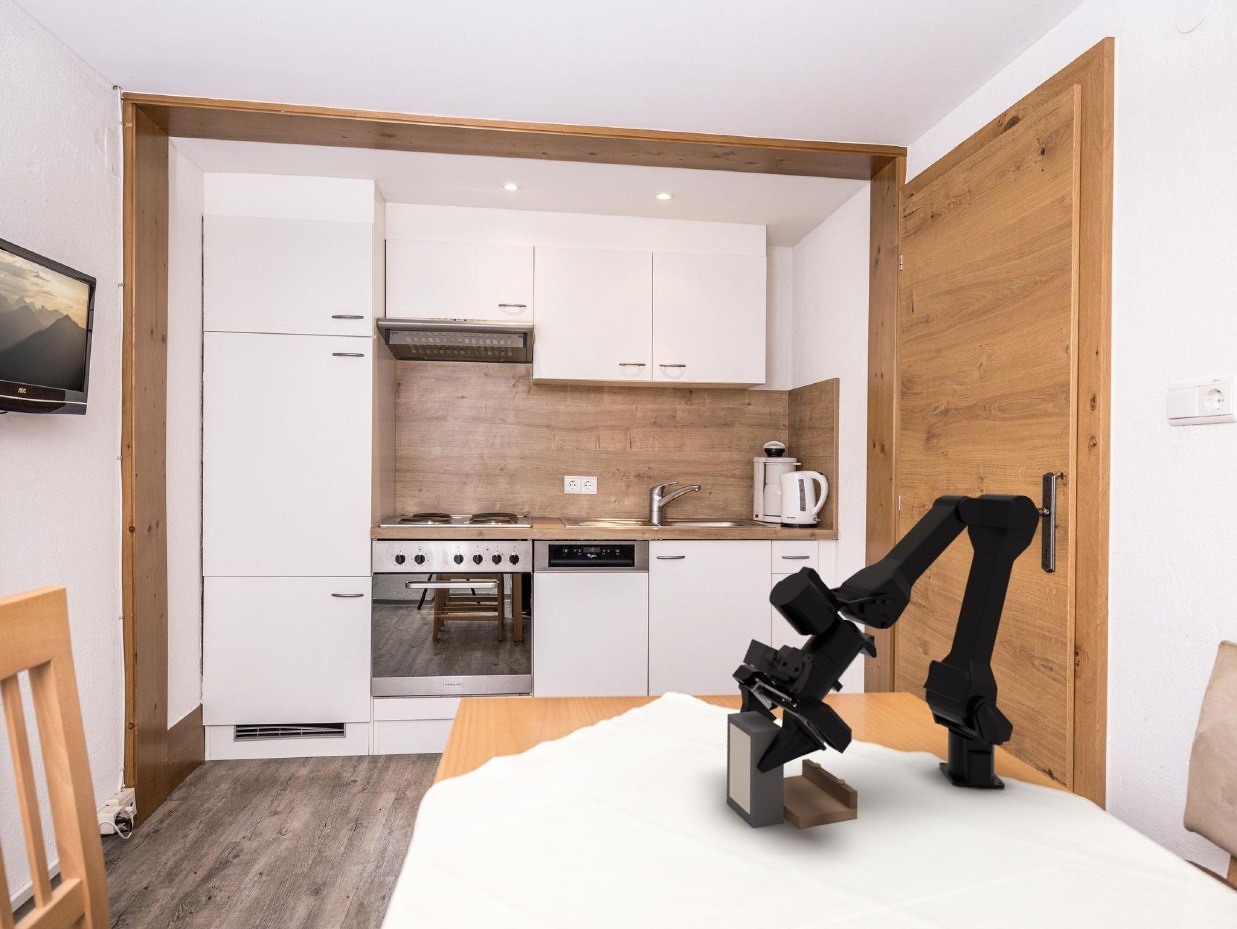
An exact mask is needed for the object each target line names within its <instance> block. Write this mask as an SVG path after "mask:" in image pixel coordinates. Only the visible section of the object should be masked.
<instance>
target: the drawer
mask: <svg viewBox="0 0 1237 929" xmlns="http://www.w3.org/2000/svg"><path fill="white" fill-rule="evenodd" d="M801 761H802V762H801V774H799V775H794V776H793V775H792V776H787V777H786V776H784V805H783V817H785V818H786V819H788V820H789V821H790V822H791V823H792V824H793V825H795V826H796V827H797V828H798V829H805V828H810V827H816V826H817V827H818V826H822V825H828V824H833V823H838V822H844V821H850V820H855V819H858V790H856V789H855V788H853V787H852V786H850V785H849V784H848V783H846V780H845V779H843V778H838V777H837V776H835V775H834V774H832V773H831V772H829V771H828V770H826V769H825V768H823V767H822V765H821V763H818V762H814V761H813V760H811V759H809V758H806V759H805V758H804V759H801Z"/></svg>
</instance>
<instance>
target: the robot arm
mask: <svg viewBox="0 0 1237 929" xmlns="http://www.w3.org/2000/svg"><path fill="white" fill-rule="evenodd" d="M1039 522H1040V510H1039V509H1038V508H1037V507H1036V505H1035V502H1034V500H1033V499H1032V498H1031V497H1028V496H1027V495H1022V494H1001V493H984V494H980V495H979V496H977V497H971V496H969V495H960V494H958V495H957V494H943V495H941V496H938V497H937V498H935V500H934V501H933V503H932V507H930V509H929V510H928V511H927V512H926V513H925V514H924V515H923V516H922V517H921V518H920V519H919V520H918V521H917V522H916V524H914V526H913V527H912V528H910V530H908V532H906V534H905V535H904V536H903V537H902V538H901V539H900V540H899V541H898V543H896V544H895V545H894V547H892V549H890V551H889V552H888V553H887V554H885V556H884V557H883V558H882V559H880V560H879V561H878V562H875V563H873V564H870V565H868V566H866V567H864V568H861V569H860V570H858V571H856V572H855V573H854V574H852V575H851V576H850V577H848V578H847V579H846V580H844V581H843V582H842V583H841V585H840V586H838V587H833V588H829V586H828V585H827V584H826V583H825V582H824V581H823V580H822V578H821V576H820V574H819V573H818V572H817V570H815V568H813V567H808V566H802V567H801V569H800V570H798V572H794V573H791V574H789V575H787V576H786V577H784V578H782V580H779V581H778V582H777V583H776V584H775V585H774V586H773V588H771V591H770V593H769V597H768V599H769V600H768V601H769V603H770V604H771V605H772V606H773V608H774V609H775V610H776V611H777V612H778V613H779V614H780V615H781V616H782V618H783V619H785V621H786V622H787V623H788V625H790V627H792V628H793V630H794V631H795V632H796V633H797V634H798V635H800V636H804V637H805V636H806V637H807V636H810V637H809V638H808V639H807V640H806V642H805V643H804V644H803V645H802V647H801V648H798V647H796V646H789V645H786V644H783V645H782V646H781V647H780V648H779V649H777V648H774V647H772V646H769V645H767V644H765V643H763V642H761V641H759V640H757V639H754V638H751V641H750V643H749V645H748V648H747V650H746V653H745V655H744V658H743V661H742V663H744V664H740V665H739V666H738V667H737V668H736V670H735V671H734V672H733V673H732V678H733V679H734V680H735V681H736V682H737V683H738V686H737V687H738V689H739V691H740V693H741V694H740V695H741V707H740V710H739V713H742V712H750V711H757V712H758V713H760V714H762V715H763V716H765V717H766V718H768V719H769V720H771V721H773V722H774V723H775V722H776V720H777V719H778V717H777V716H776V715H775V714H774V713H773V712H772V711H773V710H776V709H777V708H778V707H779V708H781V709H782V718H781V721H782V722H781V729H780V731H779V732H778V734H777V735H776V736H775V738H774V739H773V741H772V742H771V744H770V745H769V747H768V748H767V750H766V751H765V753H764V754H763V756H762V757H761V759H760V761H759V763H758V765H757V769H758V770H759V771H760V772H762V773H766V772H768V771H770V770H772V769H774V768H776V767H779V766H781V765H783V764H784V765H786V764H787V763H790V762H791V761H794V760H796V759H798V758H801V757H804V756H807V755H809V754H812V753H814V752H818V751H823V752H825V751H827V750H828V747H830V748H832V749H833V750H835V751H837V752H838V753H840V754H842V755H843V753H845V751H846V750H847V749H848V747H849V745H850V744H851V743H852V742H853V729H852V728H851V727H850V726H849V725H848V723H846V722H845V720H844V719H843V718H842V717H841V716H840V715H839V714H838V712H836V710H834V708H833V707H832V706H831V705H830V704H828V703H826V702H824V699H825V698H826V697H827V696H828V694H829V693H830V691H831V690H832V691H833V692H834V691H835V692H836V693H840V692H841V690H842V689H843V687H844V685H843V684H842V683H841V681H839V680H840V679H841V678H842V676H843V675H844V673H846V671H847V670H848V668H849V667H850V666H851V665H852V664H853V662H854V661H855V659H856V658H857V657H858V655H859V654H862V655H864V656H867V657H870V658H872V659H876V658H877V657H878V652H877V648H876V642H875V638H876V637H875V635H873V634H871V633H870V634H869V633H867V632H864V631H862V630H861V629H860V628H859V627H858V626H857V624H861V625H864V626H867V627H870V628H873V629H876V630H888V629H890V628H892V627H893V626H894V625H895V624H896V623H897V622H898V621H899V619H900V617H901V616H902V615H903V613H904V611H905V610H906V608H907V607H908V606H909V604H910V601H911V595H912V589H913V587H914V585H915V584H916V582H918V580H919V579H920V578H921V577H922V576H923V575H924V573H925V572H926V571H927V570H928V569H929V568H930V567H931V566H932V565H933V564H934V563H935V561H936V560H938V558H940V556H941V555H942V554H943V552H945V551H946V549H948V547H949V546H950V545H952V543H953V542H954V541H955V540H956V539H957V538H958V537H959V536H960V534H961V533H962V532H964V531H965V529H966V528H967V529H966V530H967V531H966V532H967V536H968V538H969V541H970V544H971V547H972V550H973V556H972V561H971V564H970V568H969V573H968V578H967V581H966V584H965V585H966V586H965V590H964V592H963V593H964V594H963V598H962V601H961V607H960V611H959V614H958V619H957V623H956V627H955V632H954V635H953V639H952V645H951V648H950V651H949V653H948V654H947V655H946V656H945V657H944V658H943V659H942V660H940V661H938V660H935V659H932V660H931V661H930V663H929V665H928V674H927V677H926V681H925V683H924V684H923V686H922V688H924V690H925V689H926V690H925V696H924V698H925V702H926V703H927V705H928V707H929V710H931V714H932V718H933V720H934V723H935V724H937V725H940V726H942V727H944V728H947V762H941V761H940V762H938V763H939V764H938V766H940V767H939V768H940V769H941V771H942V772H943V773H944V775H945V776H946V775H947V776H946V777H947V779H949V781H950V780H951V781H952V782H951V781H950V782H951V784H953V785H954V784H956V785H955V786H961V787H962V786H963V787H975V788H977V787H979V788H993V789H994V788H995V789H996V788H997V789H1005V786H1006V784H1005V783H1004V782H1003V781H1002V779H1001V778H1000V777H998V775H997V774H996V773H995V769H996V768H995V767H996V766H995V765H996V764H995V761H996V760H995V757H996V756H995V754H996V753H995V750H996V749H995V747H996V746H1002V745H1003V743H1007V742H1009V741H1010V740H1011V737H1012V733H1013V729H1014V725H1013V723H1012V722H1011V721H1010V720H1009V719H1008V718H1007V717H1006V715H1005V714H1004V713H1003V712H1002V711H1001V710H1000V708H999V707H998V706H997V698H998V690H999V689H998V685H997V684H998V683H997V680H996V679H995V678H996V677H995V676H994V675H995V674H994V673H993V669H992V666H991V661H992V657H993V653H994V650H995V649H994V648H995V644H996V641H997V635H998V632H999V626H1000V622H1001V619H1002V614H1003V610H1004V605H1005V601H1006V596H1007V592H1008V588H1009V582H1010V579H1011V575H1012V572H1013V565H1014V563H1015V561H1016V560H1017V559H1018V558H1020V556H1021V555H1022V554H1023V553H1024V552H1025V550H1027V549H1028V547H1030V546H1031V544H1032V542H1033V539H1034V538H1035V537H1034V536H1035V534H1036V531H1037V529H1038V526H1039ZM839 612H840V614H839ZM841 615H842V616H843V617H844V618H845V619H844V618H843V617H842V616H841ZM856 623H857V624H856ZM825 744H826V745H827V746H828V747H827V746H826V745H825Z"/></svg>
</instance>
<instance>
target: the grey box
mask: <svg viewBox="0 0 1237 929" xmlns="http://www.w3.org/2000/svg"><path fill="white" fill-rule="evenodd" d="M726 720H727V722H726V723H727V726H726V727H727V730H726V731H727V732H726V733H727V738H726V739H727V740H726V742H727V744H726V748H727V751H726V754H727V755H726V804H727V805H729V807H730V808H731V809H733V811H735V812H736V814H738V815H739V816H740V817H741V818H742V819H743V820H744V821H745V822H746V823H747V824H748V825H749V826H751V827H752V828H753V829H755V828H760V827H761V828H762V827H766V826H771V825H779V824H783V823H784V815H783V805H784V778H785V776H784V775H785V773H784V772H785V764H783V765H781V766H779V767H776V768H774V769H772V770H770V771H768V772H766V773H762V772H760V771H759V770H758V769H757V765H758V763H759V761H760V759H761V757H762V756H763V754H764V753H765V751H766V750H767V748H768V747H769V745H770V744H771V742H772V741H773V739H774V738H775V736H776V735H777V734H778V732H779V731H780V729H781V727H782V725H781V726H780V725H779V724H778V723H776V722H775V721H774V722H773V721H771V720H769V719H768V718H766V717H765V716H763V715H762V714H760V713H758V712H757V711H750V712H742V713H740V712H735V713H733V712H732V713H727V719H726Z"/></svg>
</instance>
